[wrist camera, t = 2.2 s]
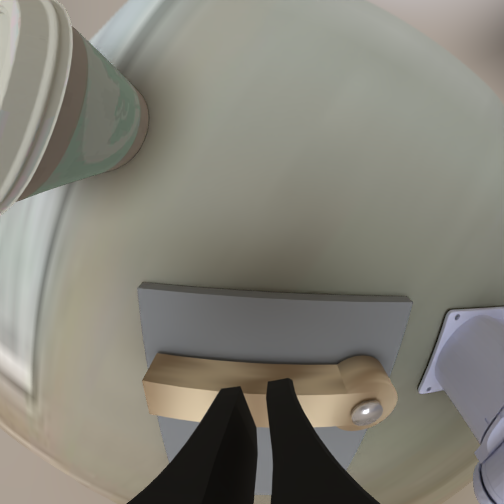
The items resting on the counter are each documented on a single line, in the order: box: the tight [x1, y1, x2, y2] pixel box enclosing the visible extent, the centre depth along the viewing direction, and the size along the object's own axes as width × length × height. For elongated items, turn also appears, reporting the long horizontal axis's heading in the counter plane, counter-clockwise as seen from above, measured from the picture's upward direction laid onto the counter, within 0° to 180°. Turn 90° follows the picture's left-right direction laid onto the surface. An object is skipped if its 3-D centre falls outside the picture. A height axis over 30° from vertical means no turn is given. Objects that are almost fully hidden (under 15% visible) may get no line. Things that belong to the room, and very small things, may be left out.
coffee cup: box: [0, 0, 149, 216], centre depth 10 cm, size 8×8×12 cm
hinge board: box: [137, 282, 413, 495], centre depth 21 cm, size 18×24×1 cm
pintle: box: [351, 400, 383, 426], centre depth 15 cm, size 2×2×1 cm
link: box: [142, 353, 398, 431], centre depth 17 cm, size 16×4×3 cm, turn 87°
